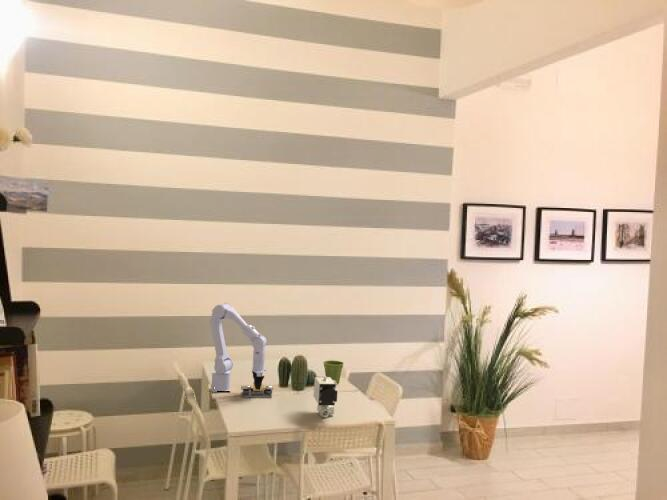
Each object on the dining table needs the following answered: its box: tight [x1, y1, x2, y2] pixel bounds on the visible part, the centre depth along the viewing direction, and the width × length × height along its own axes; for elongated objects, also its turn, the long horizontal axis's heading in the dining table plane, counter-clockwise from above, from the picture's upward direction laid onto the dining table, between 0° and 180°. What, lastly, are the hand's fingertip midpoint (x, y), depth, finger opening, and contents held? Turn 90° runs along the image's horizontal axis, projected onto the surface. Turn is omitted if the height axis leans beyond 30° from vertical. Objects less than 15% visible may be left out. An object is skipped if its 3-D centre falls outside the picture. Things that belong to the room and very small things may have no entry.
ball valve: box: [313, 375, 338, 418], centre depth 277 cm, size 18×8×18 cm, turn 11°
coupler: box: [252, 381, 264, 392], centre depth 303 cm, size 4×4×6 cm
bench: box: [240, 385, 274, 399], centre depth 303 cm, size 16×10×5 cm, turn 100°
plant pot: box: [322, 360, 345, 384], centre depth 336 cm, size 12×12×11 cm
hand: (257, 387), depth 303 cm, fingers open, 7 cm apart
